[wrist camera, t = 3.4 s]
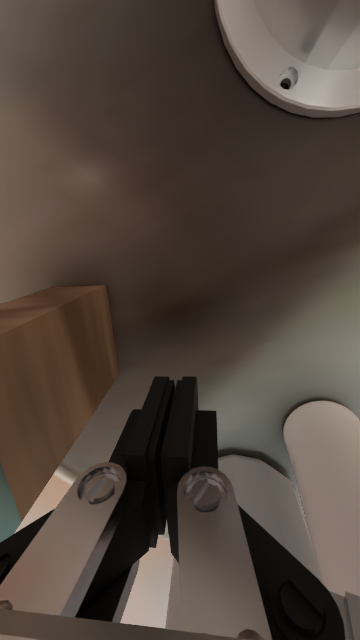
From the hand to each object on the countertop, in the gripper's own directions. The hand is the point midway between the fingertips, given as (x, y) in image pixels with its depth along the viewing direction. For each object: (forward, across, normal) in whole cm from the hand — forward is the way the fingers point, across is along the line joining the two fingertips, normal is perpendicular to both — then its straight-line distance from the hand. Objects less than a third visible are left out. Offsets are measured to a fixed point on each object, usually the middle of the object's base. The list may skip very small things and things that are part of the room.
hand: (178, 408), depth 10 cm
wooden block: (+8, +8, 0) cm, 12 cm away
